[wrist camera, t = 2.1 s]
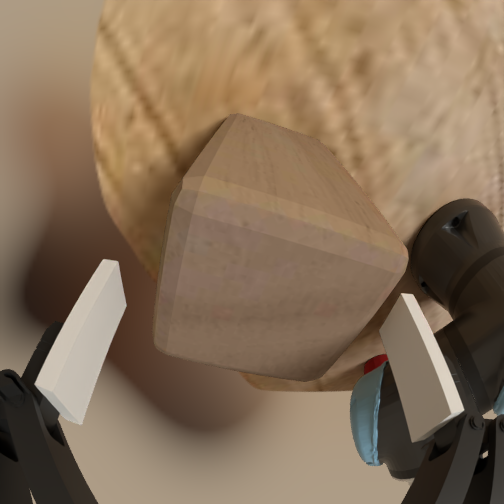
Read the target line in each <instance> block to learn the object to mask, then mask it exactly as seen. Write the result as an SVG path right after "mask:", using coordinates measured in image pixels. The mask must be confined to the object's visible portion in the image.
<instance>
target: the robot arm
mask: <svg viewBox="0 0 504 504" xmlns="http://www.w3.org/2000/svg"><path fill="white" fill-rule="evenodd" d="M411 271H412V274H413V277H414V279H415V280H416V282H417V284H418V286H419V287H420V289H421V290H422V291H423V292H424V293H425V294H426V295H427V296H429V297H430V298H431V299H433V300H434V301H435V302H436V303H438V304H439V305H440V306H442V307H443V308H444V309H445V310H447V311H448V312H449V314H450V315H451V317H452V319H453V321H452V322H450V323H449V324H448V325H446V326H445V327H443V328H442V329H440V330H439V331H437V332H436V333H434V334H433V333H432V331H431V329H430V327H429V325H428V323H427V321H426V319H425V317H424V315H423V313H422V311H421V309H420V307H419V305H418V303H417V301H416V299H415V297H414V295H413V294H404V293H401V294H400V296H399V298H398V300H397V301H396V303H395V305H394V307H393V308H392V310H391V312H390V313H389V315H388V317H387V318H386V320H385V322H384V323H383V325H382V327H381V328H380V330H379V333H380V336H381V339H382V342H383V345H384V348H385V351H386V353H387V357H388V360H387V361H385V362H384V363H383V364H382V365H381V366H379V367H378V368H376V369H374V370H373V371H371V372H369V373H367V374H366V375H364V376H363V377H361V378H360V379H359V380H358V381H357V383H356V384H355V386H354V389H353V392H352V395H351V402H350V420H351V429H352V434H353V439H354V442H355V446H356V448H357V451H358V453H359V455H360V457H361V458H362V460H363V461H364V462H366V464H368V465H370V466H380V465H382V464H383V463H385V464H386V465H387V467H388V469H389V472H390V474H391V476H392V477H393V478H394V479H395V480H398V481H406V482H409V485H410V488H409V490H408V492H407V494H406V496H405V498H404V500H403V501H402V503H401V504H504V232H503V230H502V228H501V226H500V224H499V222H498V220H497V219H496V217H495V216H494V214H493V213H492V212H491V211H490V210H489V209H488V208H487V207H486V206H484V205H483V204H482V203H480V202H479V201H477V200H474V199H460V200H456V201H454V202H451V203H449V204H447V205H446V206H444V207H442V208H441V209H440V210H438V211H437V212H436V213H435V214H434V215H433V216H432V217H431V218H430V219H429V220H428V221H427V223H426V224H425V225H424V227H423V228H422V230H421V231H420V233H419V235H418V237H417V239H416V241H415V243H414V246H413V250H412V254H411ZM126 306H127V305H126V301H125V295H124V290H123V285H122V280H121V274H120V269H119V263H118V261H113V260H106V259H103V260H102V262H101V264H100V265H99V267H98V268H97V270H96V271H95V273H94V274H93V276H92V278H91V279H90V281H89V282H88V284H87V286H86V287H85V289H84V291H83V292H82V294H81V296H80V297H79V299H78V301H77V302H76V304H75V306H74V307H73V309H72V311H71V313H70V315H69V316H68V318H67V320H66V322H65V324H64V323H60V322H57V321H55V322H54V323H53V324H52V325H50V326H49V327H48V328H47V329H46V331H45V333H44V334H43V336H42V338H41V341H40V342H39V343H38V346H37V347H36V348H37V349H36V350H35V351H34V353H33V355H32V357H31V359H30V361H29V363H28V365H27V367H26V369H25V371H24V373H23V375H22V377H21V378H20V376H19V375H18V374H17V373H16V372H14V371H13V370H10V369H6V370H2V371H0V504H33V502H32V497H31V493H30V490H31V492H32V495H33V497H34V499H35V501H36V504H98V502H97V501H96V499H95V497H94V495H93V494H92V492H91V490H90V488H89V486H88V485H87V483H86V481H85V479H84V477H83V475H82V473H81V471H80V469H79V467H78V465H77V463H76V461H75V459H74V456H73V454H72V452H71V450H70V448H69V445H68V443H67V440H66V438H65V436H64V433H63V431H62V428H61V425H60V423H59V421H58V417H59V414H61V415H62V416H63V417H64V418H65V419H66V420H69V421H72V422H74V423H77V424H80V425H82V423H83V419H84V416H85V413H86V410H87V407H88V404H89V401H90V398H91V395H92V392H93V389H94V386H95V384H96V381H97V378H98V375H99V373H100V370H101V367H102V365H103V361H104V359H105V357H106V354H107V352H108V349H109V346H110V344H111V341H112V339H113V337H114V334H115V331H116V329H117V327H118V324H119V322H120V319H121V317H122V315H123V313H124V310H125V308H126ZM457 358H458V359H457ZM461 367H462V368H461ZM467 381H468V382H467ZM473 396H474V397H473ZM475 401H476V402H475ZM476 404H477V405H476ZM491 409H493V411H494V413H495V414H497V415H498V416H497V417H496V418H495V419H494V420H492V419H484V418H483V416H482V415H483V414H485V413H486V412H488V411H489V410H491ZM486 451H488V456H487V457H485V458H483V456H482V455H483V453H485V452H486Z"/></svg>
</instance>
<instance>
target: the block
mask: <svg viewBox="0 0 504 504" xmlns="http://www.w3.org/2000/svg"><path fill="white" fill-rule="evenodd" d="M408 260H409V258H408V251H407V249H406V247H405V246H404V244H403V243H402V241H401V240H400V238H399V237H398V236H397V234H396V233H395V231H394V230H393V229H392V227H391V226H390V225H389V223H388V222H387V220H386V219H385V218H384V216H383V215H382V214H381V212H380V211H379V210H378V209H377V207H376V206H375V205H374V203H373V202H372V201H371V200H370V198H369V197H368V196H367V194H366V193H365V192H364V191H363V189H362V188H361V187H360V186H359V185H358V183H357V182H356V181H355V180H354V179H353V177H352V176H351V175H350V174H349V173H348V171H347V170H346V169H345V168H344V167H343V166H342V164H341V163H340V162H339V161H338V160H337V159H336V158H335V156H334V155H333V154H332V153H331V152H330V151H329V150H328V149H327V148H326V146H325V145H324V144H323V143H321V142H320V141H319V140H317V139H314V138H312V137H309V136H306V135H303V134H301V133H298V132H295V131H292V130H289V129H286V128H284V127H281V126H278V125H275V124H271V123H268V122H265V121H262V120H259V119H255V118H252V117H249V116H245V115H242V114H230V115H229V116H228V117H227V119H226V120H225V121H224V122H223V124H222V125H221V126H220V127H219V129H218V130H217V131H216V133H215V134H214V135H213V137H212V138H211V139H210V141H209V142H208V143H207V145H206V146H205V147H204V149H203V150H202V151H201V153H200V154H199V155H198V157H197V158H196V160H195V161H194V162H193V164H192V165H191V167H190V168H189V169H188V171H187V172H186V174H185V175H184V177H183V178H182V179H181V181H180V182H179V184H178V185H177V187H176V188H175V190H174V191H173V193H172V194H171V200H170V205H169V210H168V216H167V221H166V227H165V233H164V239H163V245H162V252H161V259H160V266H159V273H158V281H157V289H156V298H155V306H154V316H153V327H152V335H153V340H154V345H155V347H156V348H157V349H158V350H159V351H161V352H163V353H164V354H166V355H169V356H173V357H177V358H181V359H185V360H189V361H193V362H197V363H202V364H206V365H211V366H215V367H219V368H225V369H229V370H234V371H239V372H245V373H250V374H256V375H262V376H268V377H274V378H281V379H288V380H296V381H304V382H306V381H311V380H315V379H318V378H320V377H322V376H323V375H324V374H325V373H326V371H327V370H328V369H329V368H330V367H331V366H332V365H333V364H334V363H335V361H336V360H337V359H338V358H339V357H340V356H341V355H342V353H343V352H344V351H345V350H346V349H347V348H348V347H349V345H350V344H351V343H352V342H353V341H354V339H355V338H356V337H357V336H358V335H359V333H360V332H361V331H362V330H363V328H364V327H365V326H366V325H367V323H368V322H369V321H370V320H371V318H372V317H373V316H374V314H375V313H376V312H377V310H378V309H379V308H380V306H381V305H382V304H383V302H384V301H385V300H386V298H387V297H388V296H389V294H390V293H391V292H392V290H393V289H394V287H395V286H396V285H397V283H398V282H399V280H400V279H401V277H402V276H403V274H404V273H405V270H406V267H407V263H408Z"/></svg>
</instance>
